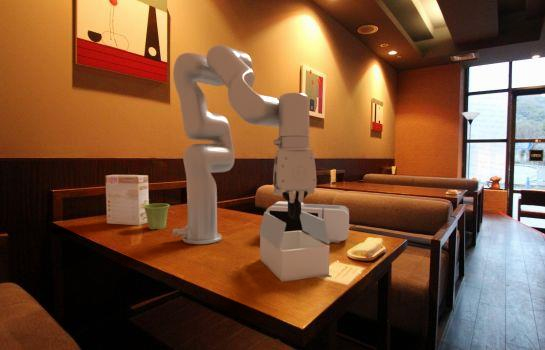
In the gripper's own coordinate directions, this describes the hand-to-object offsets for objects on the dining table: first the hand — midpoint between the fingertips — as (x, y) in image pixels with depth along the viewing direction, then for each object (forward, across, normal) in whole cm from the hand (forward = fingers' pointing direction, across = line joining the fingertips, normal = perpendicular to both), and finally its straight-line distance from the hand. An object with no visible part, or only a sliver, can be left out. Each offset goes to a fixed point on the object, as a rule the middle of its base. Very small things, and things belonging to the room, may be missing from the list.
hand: (294, 217), depth 80 cm
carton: (+13, 0, +1) cm, 13 cm away
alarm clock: (+13, +16, +24) cm, 32 cm away
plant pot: (+12, -32, +56) cm, 65 cm away
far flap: (+3, +5, +1) cm, 6 cm away
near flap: (+2, -6, +1) cm, 6 cm away
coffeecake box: (+11, -43, +69) cm, 82 cm away
